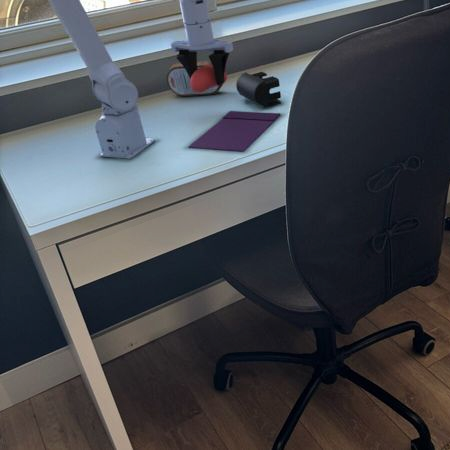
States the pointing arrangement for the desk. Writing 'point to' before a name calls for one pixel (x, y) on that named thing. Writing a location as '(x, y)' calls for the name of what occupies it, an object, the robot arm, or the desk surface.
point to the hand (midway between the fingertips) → (208, 83)
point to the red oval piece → (204, 79)
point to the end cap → (259, 89)
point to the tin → (186, 81)
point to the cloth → (235, 131)
